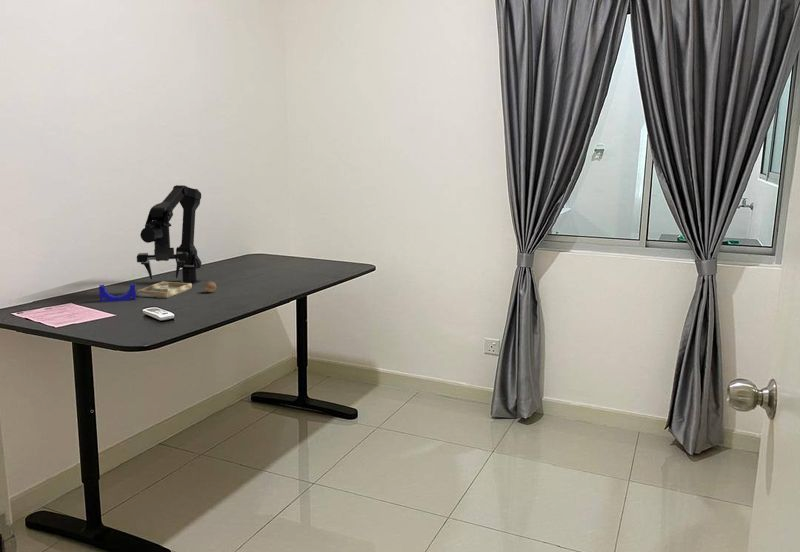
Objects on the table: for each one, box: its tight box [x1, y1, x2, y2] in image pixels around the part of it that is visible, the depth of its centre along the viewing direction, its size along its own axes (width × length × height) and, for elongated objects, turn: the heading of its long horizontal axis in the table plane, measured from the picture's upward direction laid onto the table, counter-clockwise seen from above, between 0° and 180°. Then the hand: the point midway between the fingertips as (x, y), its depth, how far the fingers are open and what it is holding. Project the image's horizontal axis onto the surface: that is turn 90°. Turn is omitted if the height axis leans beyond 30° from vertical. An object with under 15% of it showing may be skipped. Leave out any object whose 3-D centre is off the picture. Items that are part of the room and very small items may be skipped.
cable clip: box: [98, 282, 137, 303], centre depth 239 cm, size 12×4×6 cm, turn 110°
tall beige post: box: [160, 281, 169, 292], centre depth 250 cm, size 3×3×13 cm
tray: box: [135, 281, 193, 299], centre depth 252 cm, size 18×13×2 cm
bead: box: [204, 281, 217, 294], centre depth 254 cm, size 4×4×4 cm
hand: (164, 278), depth 251 cm, fingers open, 9 cm apart
